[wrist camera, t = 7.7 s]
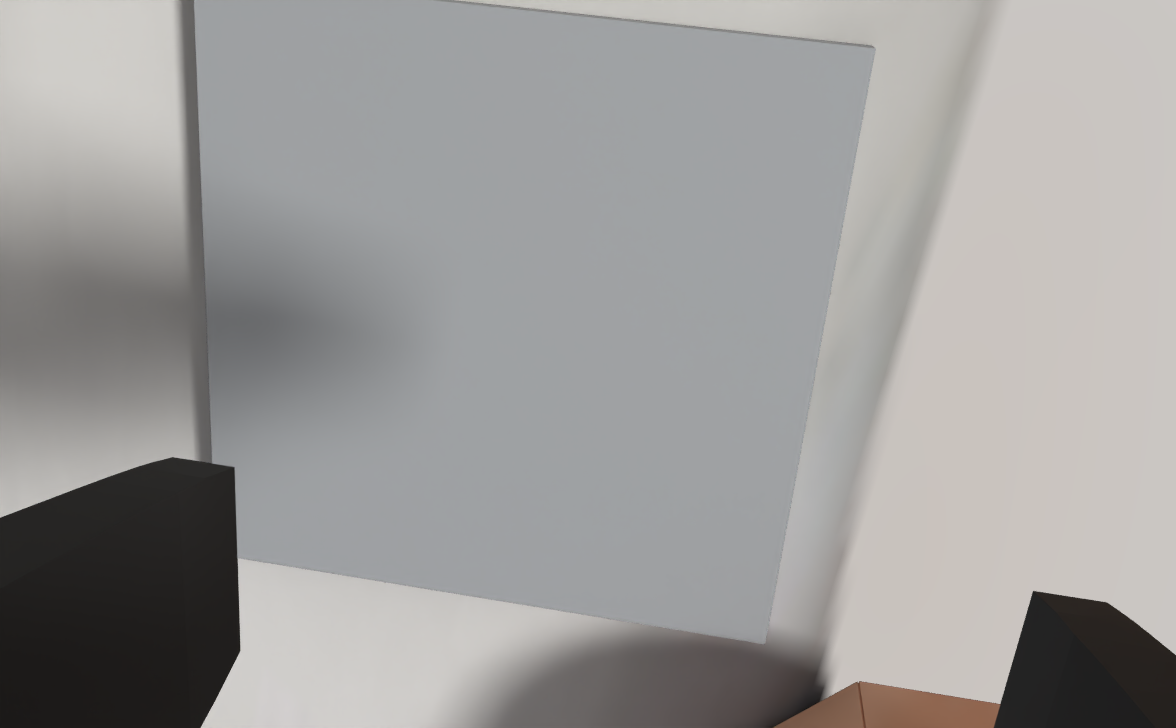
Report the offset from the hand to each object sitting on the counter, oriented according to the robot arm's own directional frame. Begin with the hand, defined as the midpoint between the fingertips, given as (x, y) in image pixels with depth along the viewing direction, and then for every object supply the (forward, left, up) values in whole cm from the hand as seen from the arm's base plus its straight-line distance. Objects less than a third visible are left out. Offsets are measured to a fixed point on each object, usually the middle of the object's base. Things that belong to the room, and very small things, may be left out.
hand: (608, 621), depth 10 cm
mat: (-1, +3, -10) cm, 10 cm away
